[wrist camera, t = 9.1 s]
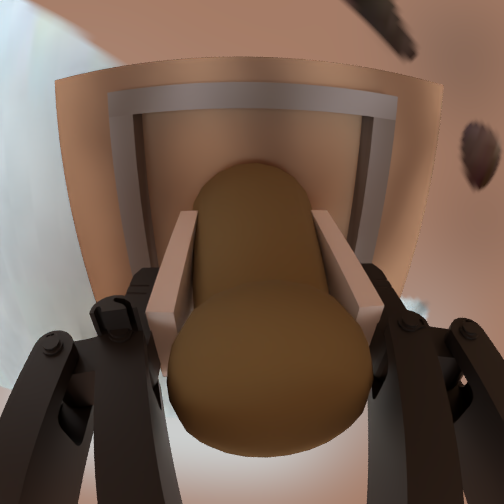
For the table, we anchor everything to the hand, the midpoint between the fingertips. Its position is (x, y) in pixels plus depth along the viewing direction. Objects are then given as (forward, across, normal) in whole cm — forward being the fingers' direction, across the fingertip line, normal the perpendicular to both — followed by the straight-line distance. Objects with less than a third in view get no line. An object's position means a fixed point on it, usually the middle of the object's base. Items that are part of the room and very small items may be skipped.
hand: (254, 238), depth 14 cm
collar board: (+4, 0, 0) cm, 4 cm away
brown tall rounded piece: (+2, 0, 0) cm, 2 cm away
